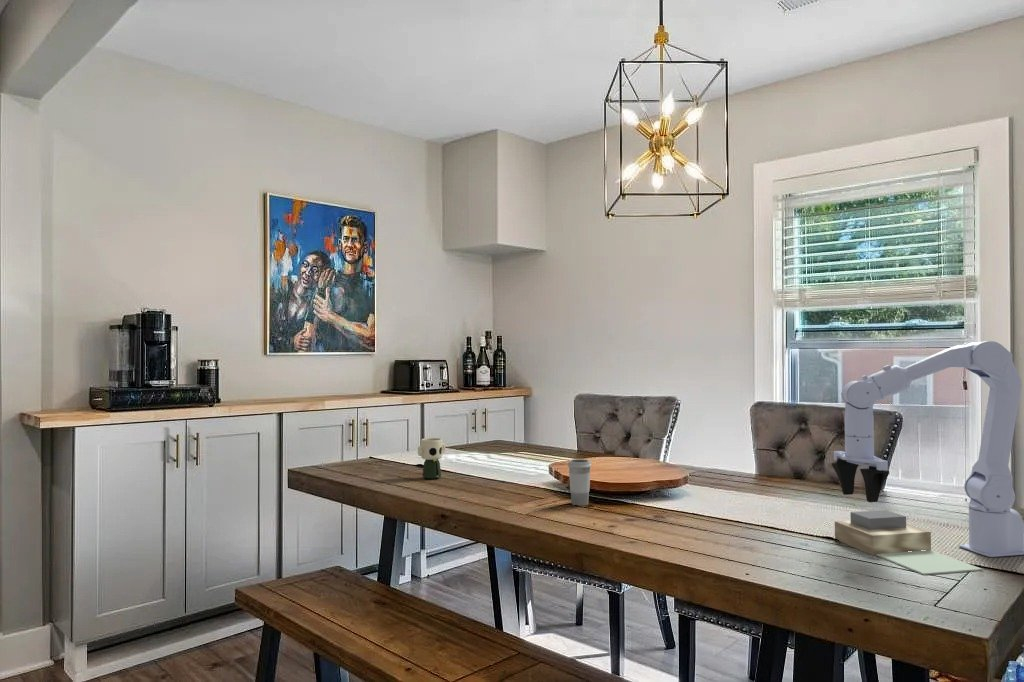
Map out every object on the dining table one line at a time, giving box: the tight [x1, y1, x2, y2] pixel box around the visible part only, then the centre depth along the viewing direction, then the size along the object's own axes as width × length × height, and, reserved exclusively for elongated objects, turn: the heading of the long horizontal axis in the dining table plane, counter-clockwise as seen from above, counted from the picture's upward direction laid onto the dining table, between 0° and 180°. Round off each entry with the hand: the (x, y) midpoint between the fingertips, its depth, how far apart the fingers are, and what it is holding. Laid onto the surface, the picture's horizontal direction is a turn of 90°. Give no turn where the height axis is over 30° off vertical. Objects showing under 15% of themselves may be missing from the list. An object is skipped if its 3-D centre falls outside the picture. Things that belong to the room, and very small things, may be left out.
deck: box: [834, 519, 932, 556], centre depth 151 cm, size 14×12×4 cm
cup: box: [566, 458, 593, 507], centre depth 191 cm, size 7×7×12 cm
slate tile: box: [850, 509, 907, 530], centre depth 152 cm, size 9×6×2 cm, turn 101°
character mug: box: [417, 437, 446, 479], centre depth 230 cm, size 11×7×13 cm, turn 133°
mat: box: [875, 549, 983, 576], centre depth 138 cm, size 13×12×1 cm
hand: (859, 497), depth 152 cm, fingers open, 7 cm apart
